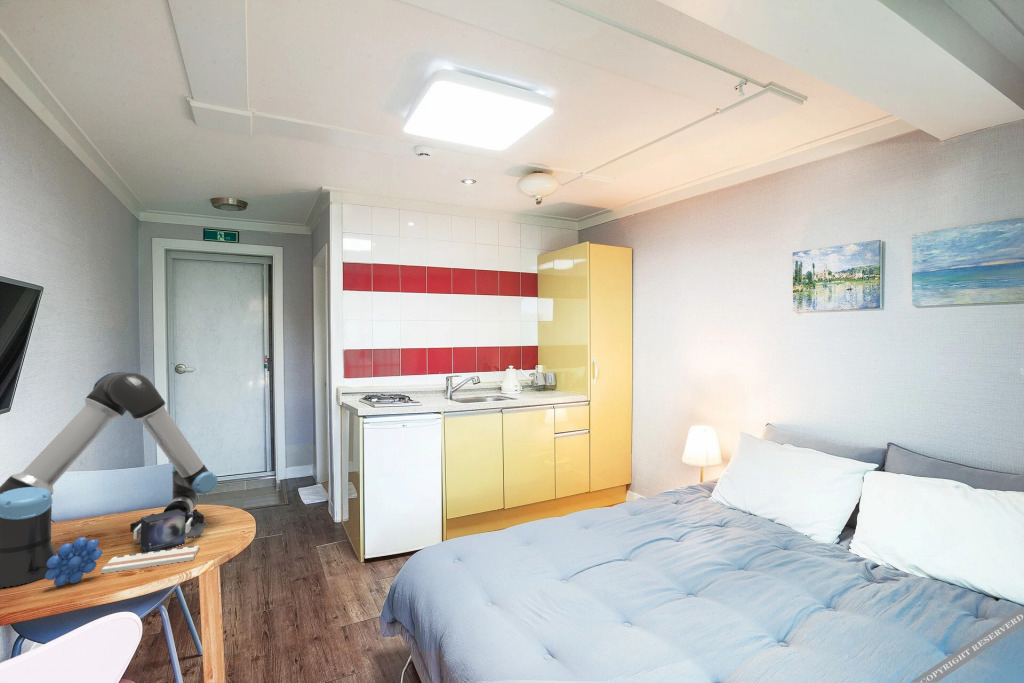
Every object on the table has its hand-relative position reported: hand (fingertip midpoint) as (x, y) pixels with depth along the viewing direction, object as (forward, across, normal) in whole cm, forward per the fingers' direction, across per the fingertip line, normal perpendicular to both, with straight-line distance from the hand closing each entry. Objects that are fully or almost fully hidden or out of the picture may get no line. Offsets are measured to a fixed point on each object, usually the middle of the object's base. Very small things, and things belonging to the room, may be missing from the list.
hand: (161, 531), depth 153 cm
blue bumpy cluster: (+15, +16, -6) cm, 23 cm away
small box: (-3, 0, -6) cm, 7 cm away
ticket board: (+8, 0, -6) cm, 10 cm away
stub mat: (-16, 0, -6) cm, 17 cm away
